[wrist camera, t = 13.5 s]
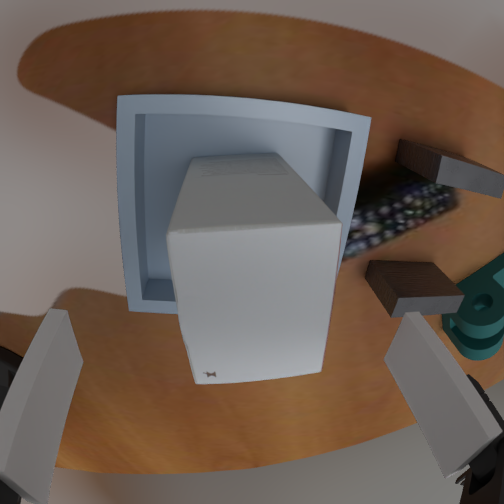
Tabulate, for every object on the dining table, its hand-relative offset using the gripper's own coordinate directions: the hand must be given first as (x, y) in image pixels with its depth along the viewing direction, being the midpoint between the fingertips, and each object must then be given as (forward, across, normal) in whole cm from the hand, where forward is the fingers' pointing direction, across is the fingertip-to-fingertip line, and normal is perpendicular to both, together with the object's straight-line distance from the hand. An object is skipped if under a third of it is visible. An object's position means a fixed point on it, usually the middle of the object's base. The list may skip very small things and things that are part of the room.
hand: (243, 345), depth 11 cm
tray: (+15, -1, 0) cm, 15 cm away
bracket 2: (+15, -34, +7) cm, 38 cm away
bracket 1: (+15, -18, 0) cm, 23 cm away
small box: (+14, -1, 0) cm, 14 cm away
